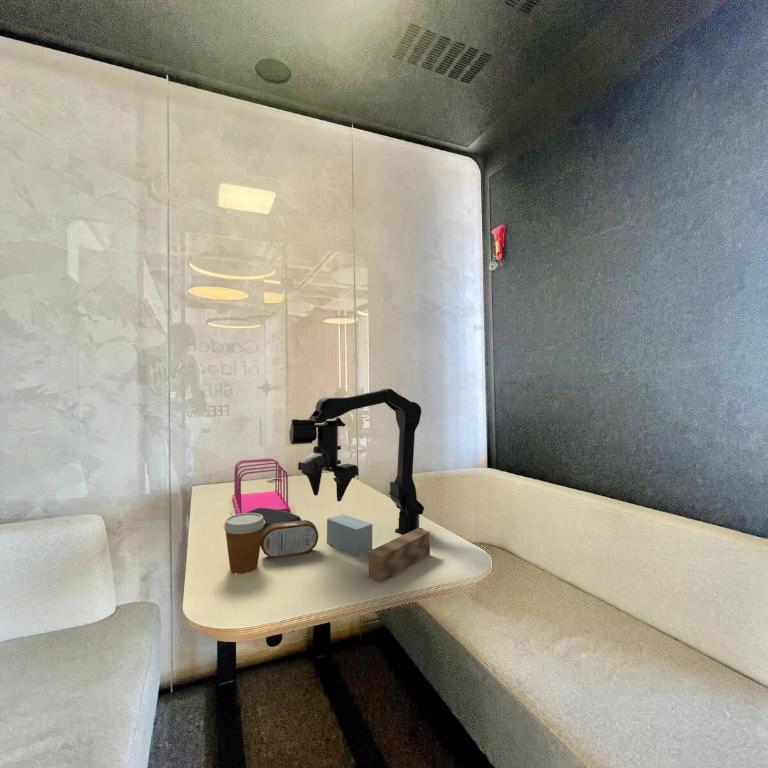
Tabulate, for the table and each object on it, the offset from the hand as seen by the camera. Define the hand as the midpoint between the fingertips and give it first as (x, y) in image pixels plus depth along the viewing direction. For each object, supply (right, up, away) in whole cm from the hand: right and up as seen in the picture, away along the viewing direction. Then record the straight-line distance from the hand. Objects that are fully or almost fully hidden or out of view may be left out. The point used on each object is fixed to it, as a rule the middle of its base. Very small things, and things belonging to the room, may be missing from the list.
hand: (327, 498), depth 111 cm
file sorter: (-30, -13, +35) cm, 48 cm away
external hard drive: (-21, -13, +13) cm, 28 cm away
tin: (-9, -13, -7) cm, 17 cm away
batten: (+20, -13, -13) cm, 27 cm away
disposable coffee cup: (-18, -13, -15) cm, 27 cm away
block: (+6, -13, -2) cm, 15 cm away
